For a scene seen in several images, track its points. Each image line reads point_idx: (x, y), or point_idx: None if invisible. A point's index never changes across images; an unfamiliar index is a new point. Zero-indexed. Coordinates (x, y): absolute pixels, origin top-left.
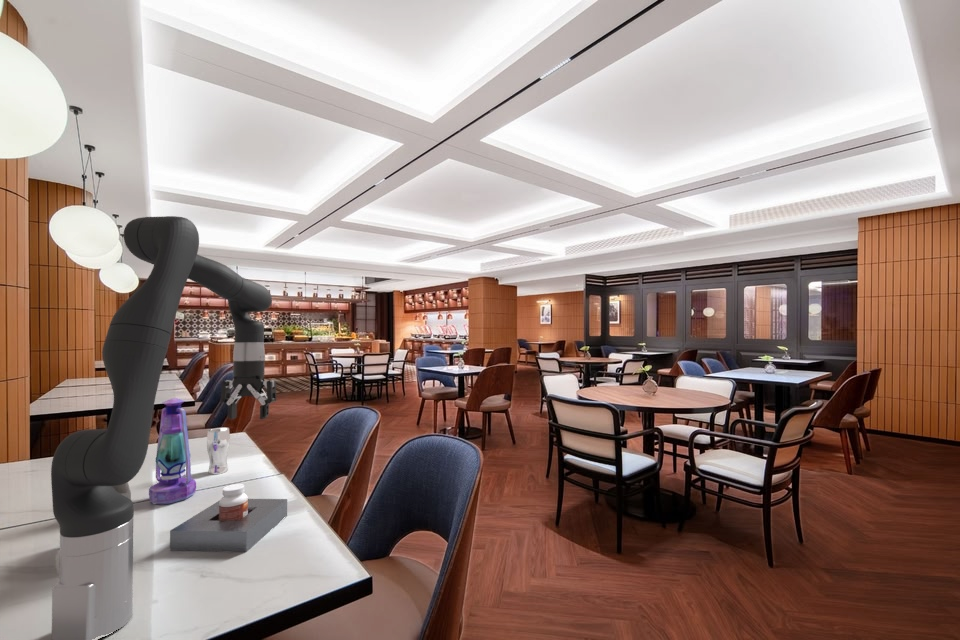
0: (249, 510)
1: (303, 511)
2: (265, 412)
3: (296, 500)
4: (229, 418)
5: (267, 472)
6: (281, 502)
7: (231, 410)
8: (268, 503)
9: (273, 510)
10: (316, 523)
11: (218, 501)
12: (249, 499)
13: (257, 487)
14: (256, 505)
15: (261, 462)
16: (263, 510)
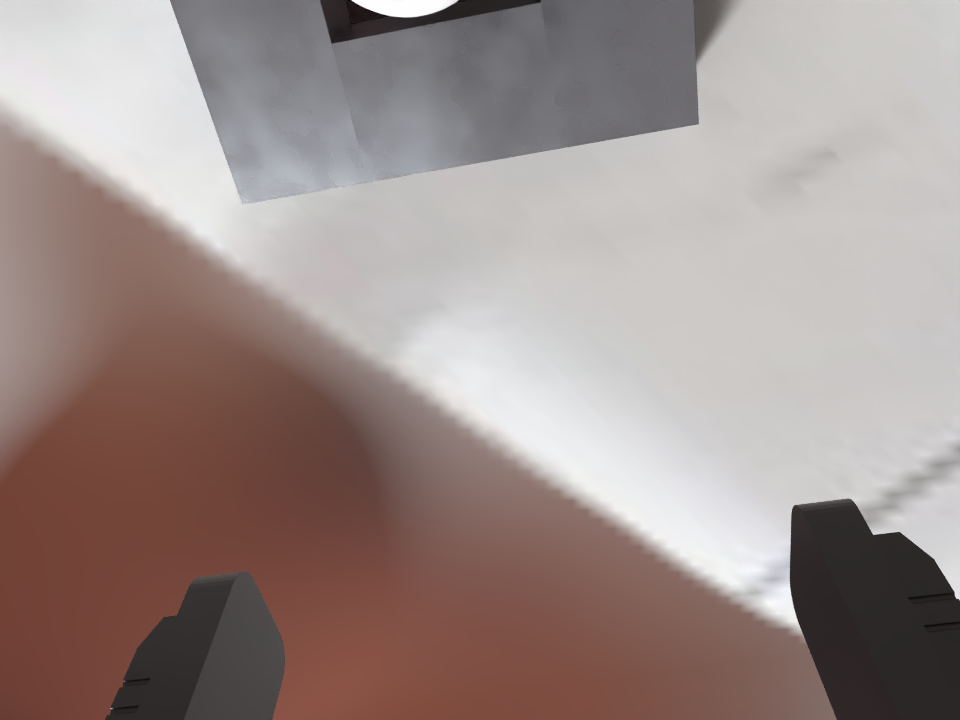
0: (390, 29)
1: (226, 238)
2: (121, 690)
3: (379, 351)
4: (848, 501)
5: None
6: (233, 148)
7: (864, 633)
8: (304, 115)
9: (180, 24)
10: (25, 118)
11: (690, 71)
12: (490, 147)
13: (734, 454)
14: (361, 69)
15: None
16: (240, 2)
